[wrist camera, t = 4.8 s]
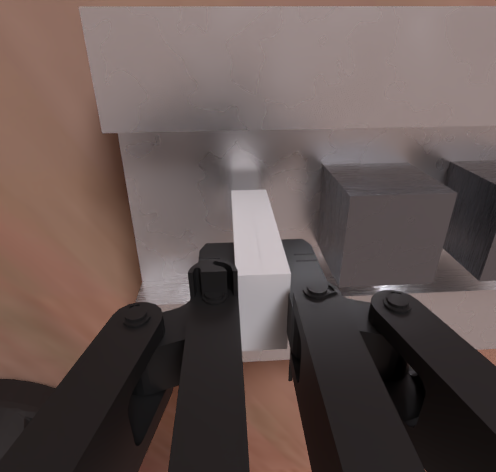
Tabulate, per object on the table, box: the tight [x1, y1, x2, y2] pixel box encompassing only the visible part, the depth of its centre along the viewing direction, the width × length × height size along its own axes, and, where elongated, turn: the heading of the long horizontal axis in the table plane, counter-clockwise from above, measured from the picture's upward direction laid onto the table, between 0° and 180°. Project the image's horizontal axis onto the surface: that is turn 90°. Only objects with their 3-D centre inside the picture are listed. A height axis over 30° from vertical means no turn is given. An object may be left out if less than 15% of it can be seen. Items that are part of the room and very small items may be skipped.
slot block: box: [79, 6, 496, 362], centre depth 19 cm, size 16×22×6 cm
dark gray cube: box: [316, 163, 457, 287], centre depth 16 cm, size 4×4×4 cm
